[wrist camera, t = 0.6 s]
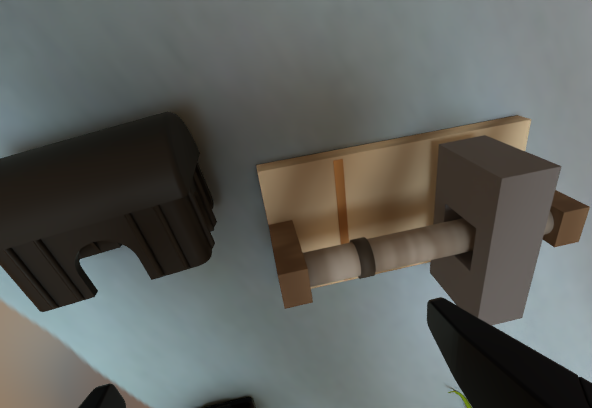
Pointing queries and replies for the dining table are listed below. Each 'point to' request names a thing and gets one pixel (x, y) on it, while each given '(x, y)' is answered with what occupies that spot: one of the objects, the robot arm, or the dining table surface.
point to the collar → (492, 223)
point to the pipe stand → (378, 209)
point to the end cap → (103, 207)
